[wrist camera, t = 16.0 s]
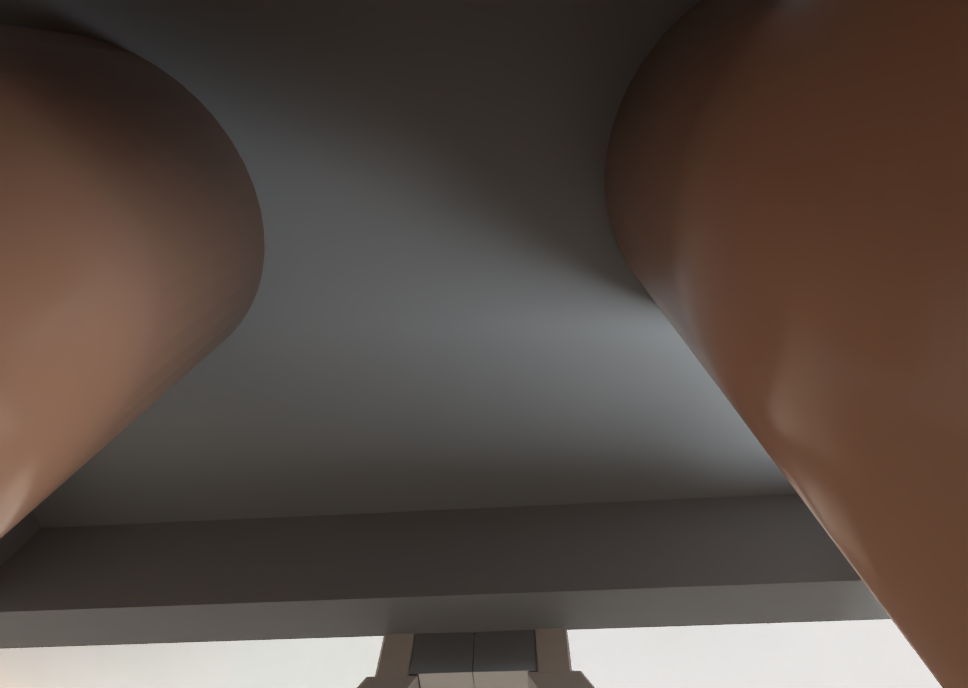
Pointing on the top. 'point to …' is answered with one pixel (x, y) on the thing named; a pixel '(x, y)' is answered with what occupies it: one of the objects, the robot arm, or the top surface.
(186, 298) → the peach rounded capsule
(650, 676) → the top surface
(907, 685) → the top surface
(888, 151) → the peach glossy rounded part
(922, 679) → the top surface
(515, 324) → the tray
